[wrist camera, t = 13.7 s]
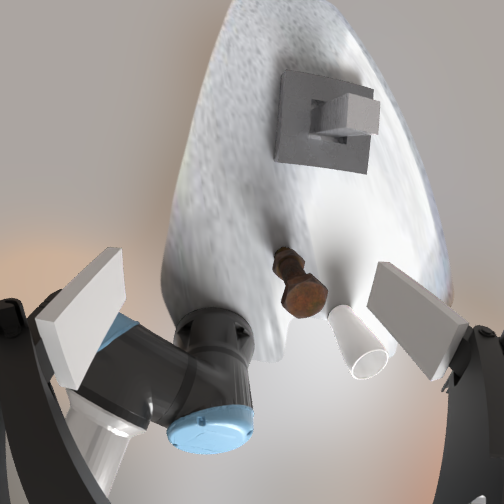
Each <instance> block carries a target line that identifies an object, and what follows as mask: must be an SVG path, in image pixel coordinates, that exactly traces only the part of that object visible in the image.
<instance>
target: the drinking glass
mask: <svg viewBox="0 0 504 504" xmlns="http://www.w3.org/2000/svg"><path fill="white" fill-rule="evenodd" d="M328 323H329V325H330V327H331V329H332V331H333V334H334V336H335V339H336V341H337V344H338V347H339V349H340V352H341V355H342V357H343V360H344V362H345V364H346V366H347V368H348V369H349V371H350V373H351V374H352V376H353V377H354V378H356V379H360V380H363V379H368V378H371V377H373V376H375V375H376V374H378V373H379V372H380V371H381V370H382V369H383V368H384V367H385V365H386V364H387V361H388V357H389V356H388V352H387V351H386V349H385V348H384V346H383V344H382V343H381V341H380V340H379V339H378V338H377V336H376V335H375V334H374V333H373V332H372V331H371V330H370V329H369V328H368V326H367V325H366V324H365V323H364V322H363V321H362V320H361V319H360V318H359V317H358V316H357V315H356V313H355V312H354V311H353V310H352V308H351V307H349V306H347V305H339V306H337V307H335V308H334V309H332V311H331V312H330V313H329V316H328Z"/></svg>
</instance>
